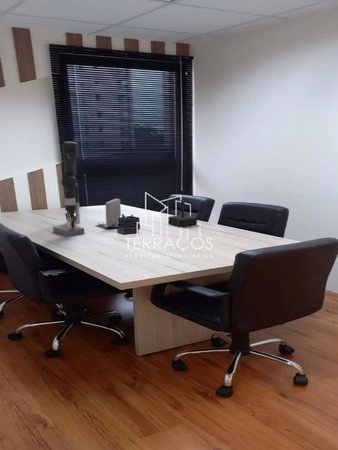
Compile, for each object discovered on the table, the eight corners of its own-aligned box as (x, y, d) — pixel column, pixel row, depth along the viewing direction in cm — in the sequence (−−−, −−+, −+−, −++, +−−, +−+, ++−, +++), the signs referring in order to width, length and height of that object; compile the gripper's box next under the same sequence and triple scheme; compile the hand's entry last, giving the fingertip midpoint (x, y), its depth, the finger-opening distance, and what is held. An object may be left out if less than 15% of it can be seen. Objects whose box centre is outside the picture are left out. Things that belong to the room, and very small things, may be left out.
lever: (67, 228, 311) (67, 220, 310) (73, 227, 314) (73, 219, 313) (69, 228, 309) (69, 220, 308) (75, 227, 312) (75, 219, 311)
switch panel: (53, 231, 320) (52, 226, 319) (69, 229, 329) (69, 224, 328) (67, 236, 304) (67, 231, 303) (84, 233, 313) (84, 228, 312)
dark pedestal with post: (166, 224, 344) (166, 200, 340) (181, 222, 355) (181, 198, 351) (182, 228, 330) (182, 202, 326) (197, 225, 341) (197, 200, 337)
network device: (113, 228, 332) (112, 202, 328) (103, 227, 334) (102, 202, 330) (123, 222, 357) (122, 198, 353) (113, 221, 358) (112, 198, 354)
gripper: (79, 204, 306) (81, 227, 309) (70, 202, 316) (71, 225, 319) (70, 205, 301) (71, 229, 304) (61, 203, 311) (62, 226, 314)
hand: (71, 227), depth 312 cm, fingers closed on lever, 3 cm apart
